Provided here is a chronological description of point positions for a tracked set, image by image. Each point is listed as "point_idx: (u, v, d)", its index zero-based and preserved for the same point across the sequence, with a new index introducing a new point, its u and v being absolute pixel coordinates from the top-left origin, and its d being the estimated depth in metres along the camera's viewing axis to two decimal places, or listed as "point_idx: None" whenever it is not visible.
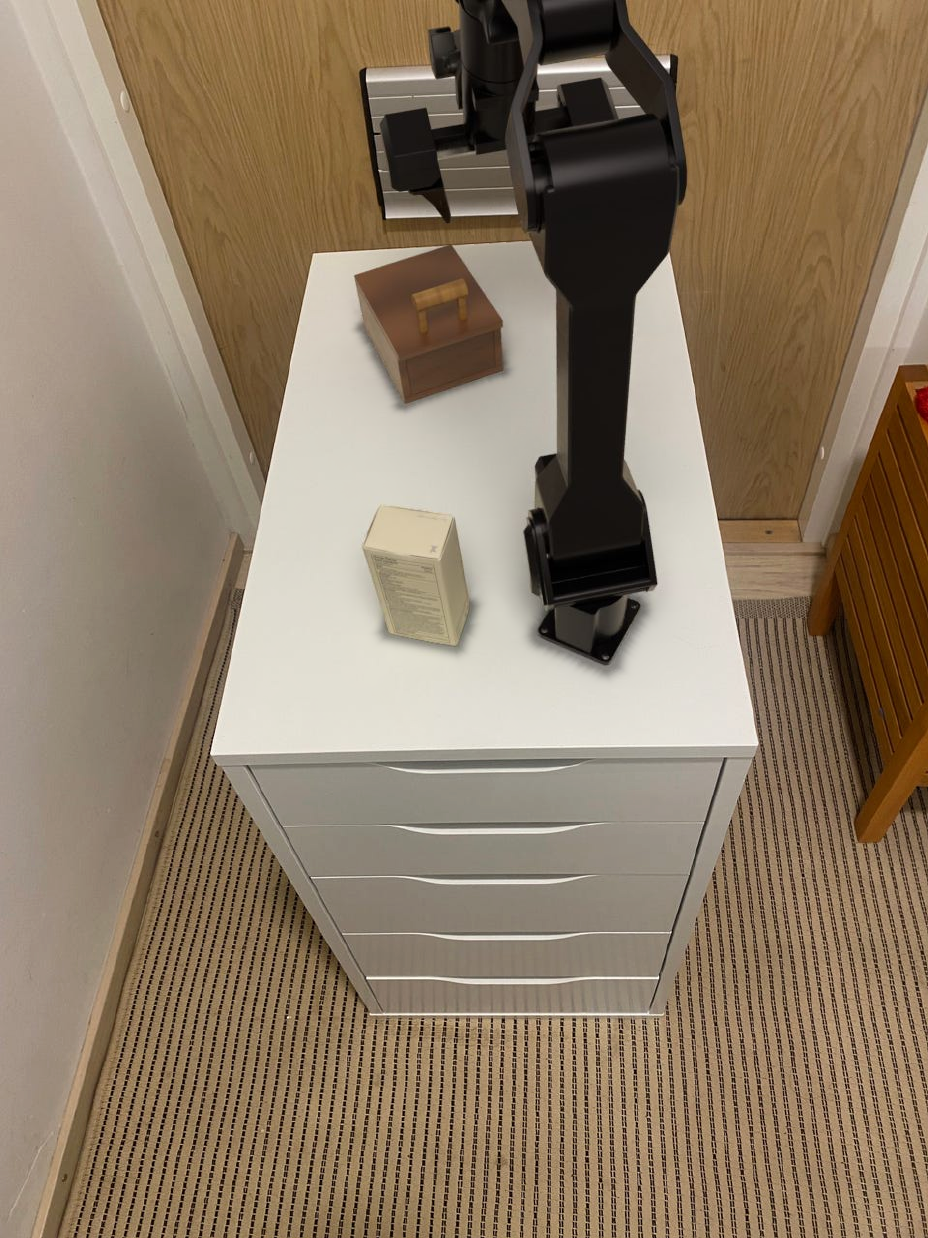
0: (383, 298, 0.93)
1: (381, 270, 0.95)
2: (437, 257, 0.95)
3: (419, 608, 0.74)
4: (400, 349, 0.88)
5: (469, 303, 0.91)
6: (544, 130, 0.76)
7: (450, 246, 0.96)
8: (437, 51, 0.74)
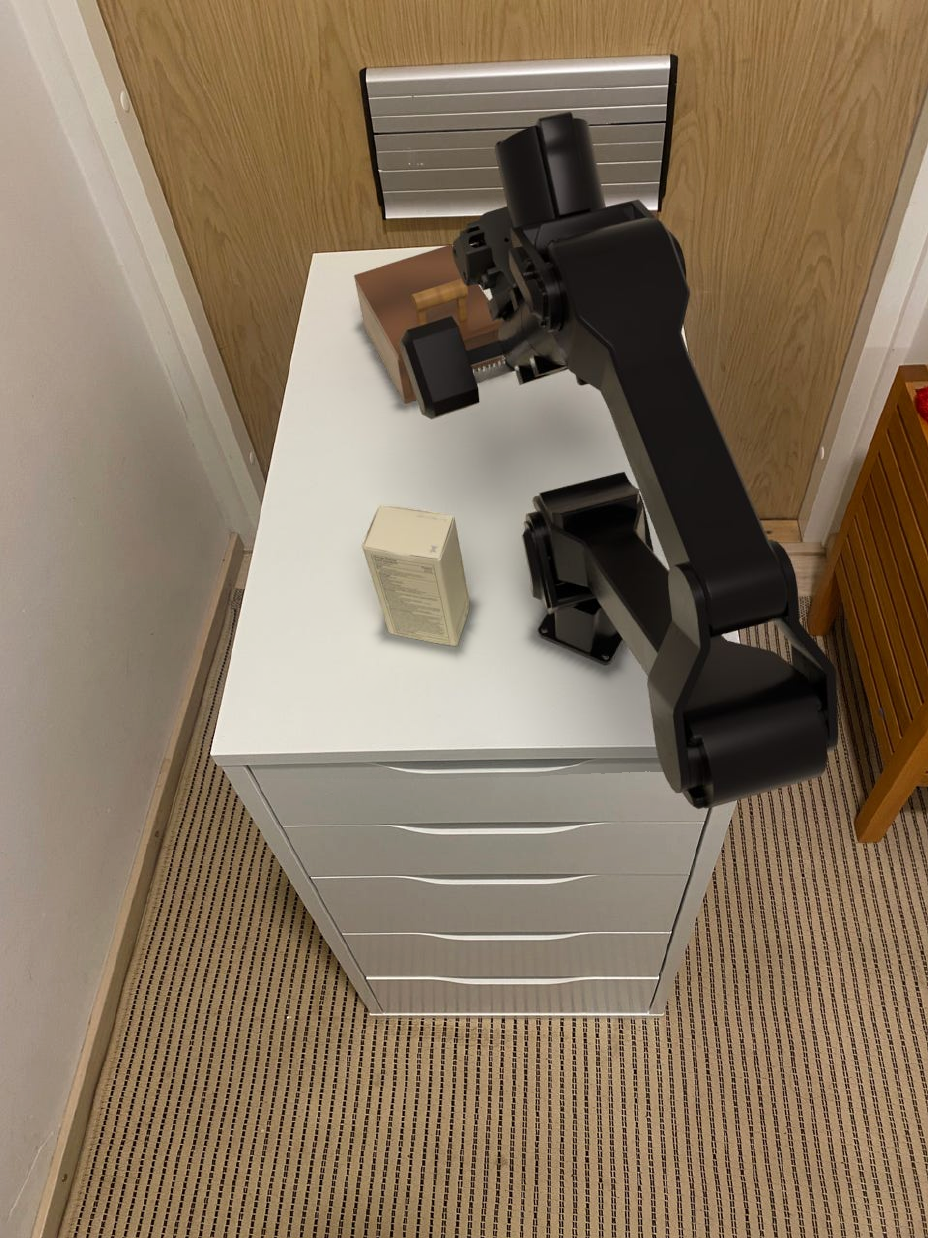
0: (383, 298, 0.93)
1: (381, 270, 0.95)
2: (437, 257, 0.95)
3: (419, 608, 0.74)
4: None
5: (469, 303, 0.91)
6: None
7: (450, 246, 0.96)
8: (472, 268, 0.62)
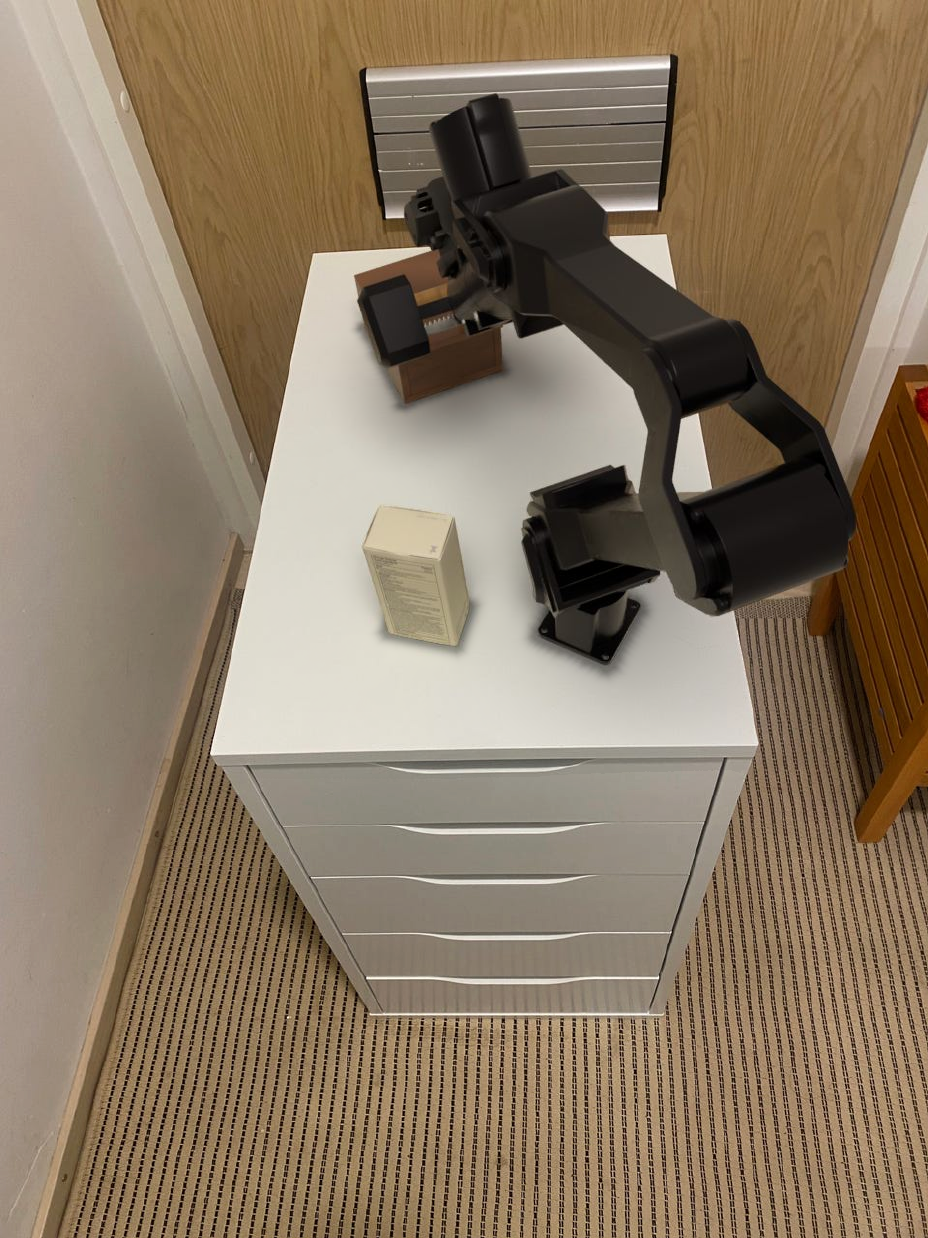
0: None
1: (381, 270, 0.95)
2: (437, 257, 0.95)
3: (419, 608, 0.74)
4: None
5: None
6: None
7: None
8: (421, 230, 0.69)
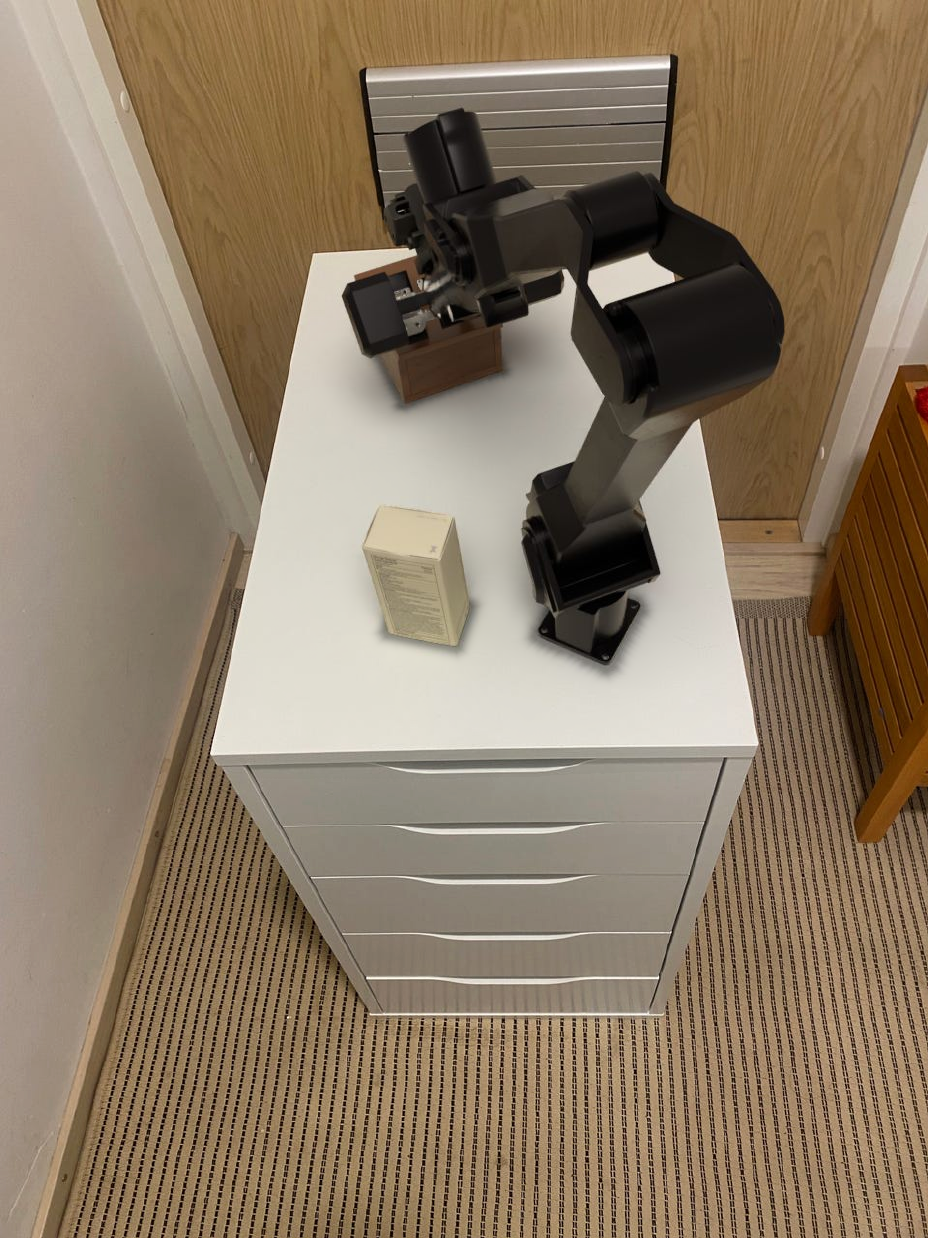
0: None
1: (381, 270, 0.95)
2: None
3: (419, 608, 0.74)
4: (400, 349, 0.88)
5: None
6: None
7: None
8: (399, 231, 0.76)
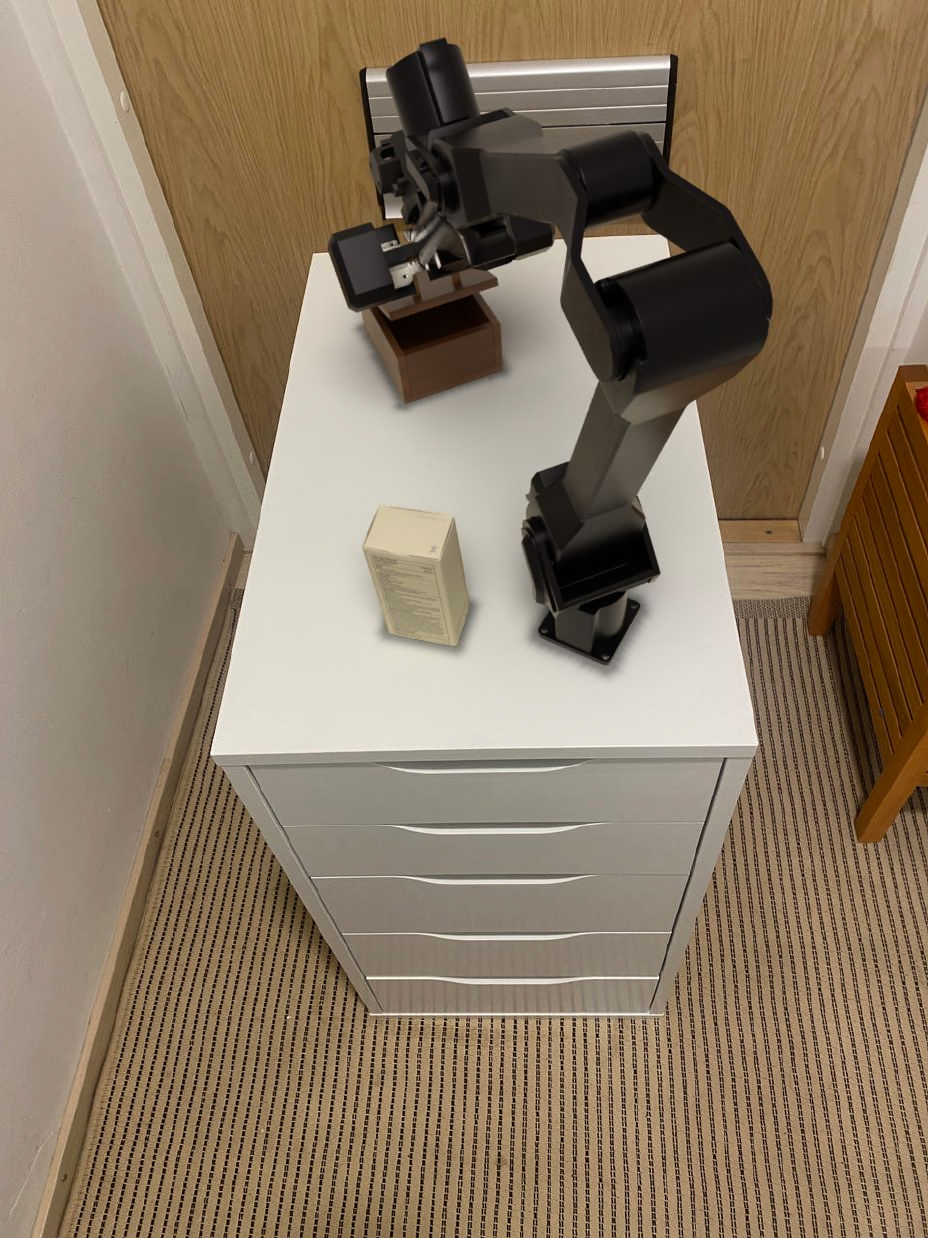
0: None
1: None
2: None
3: (419, 608, 0.74)
4: (391, 309, 0.85)
5: (464, 272, 0.89)
6: None
7: None
8: (384, 177, 0.74)
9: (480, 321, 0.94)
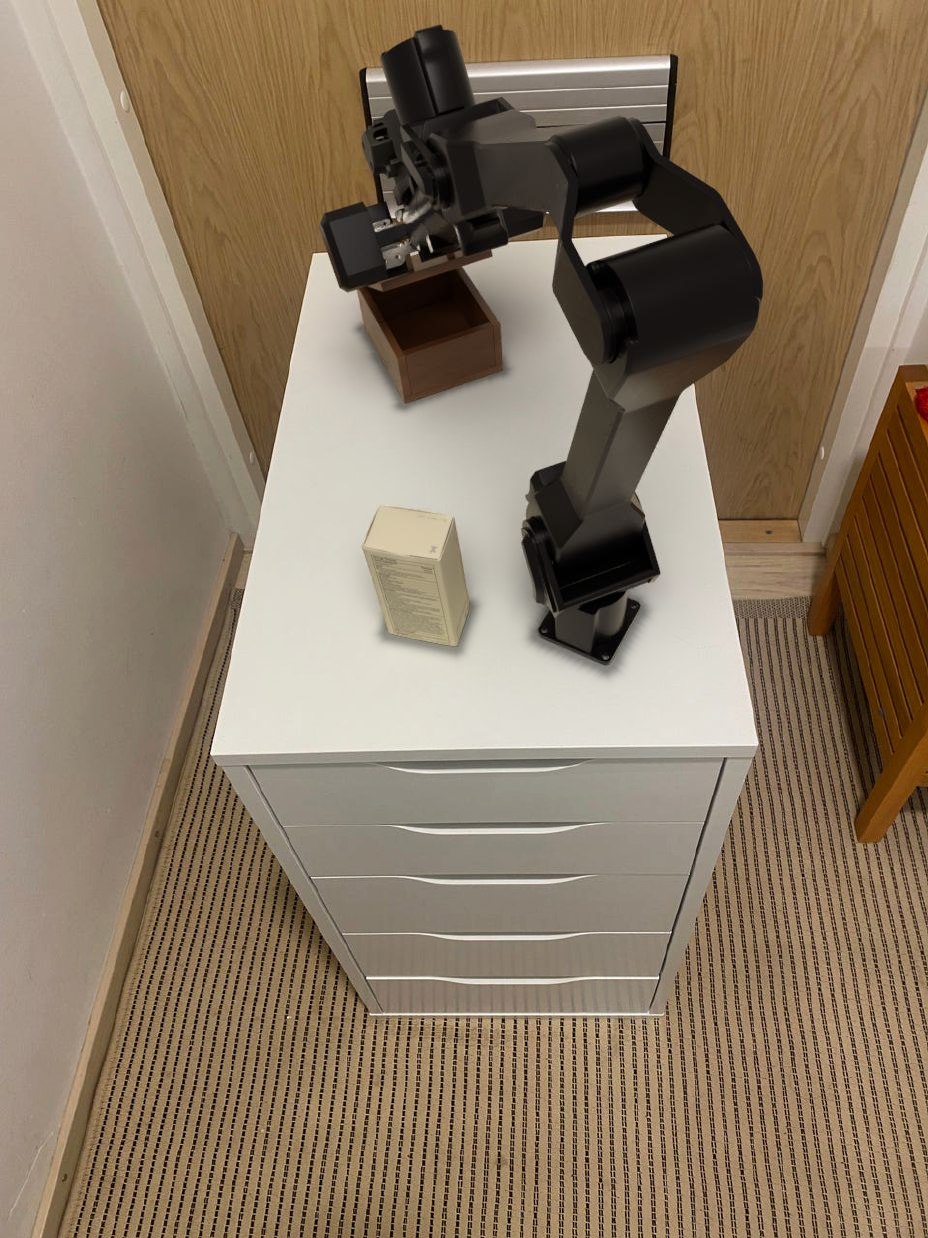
0: None
1: None
2: None
3: (419, 608, 0.74)
4: None
5: (459, 251, 0.88)
6: None
7: None
8: (377, 158, 0.74)
9: (480, 321, 0.94)
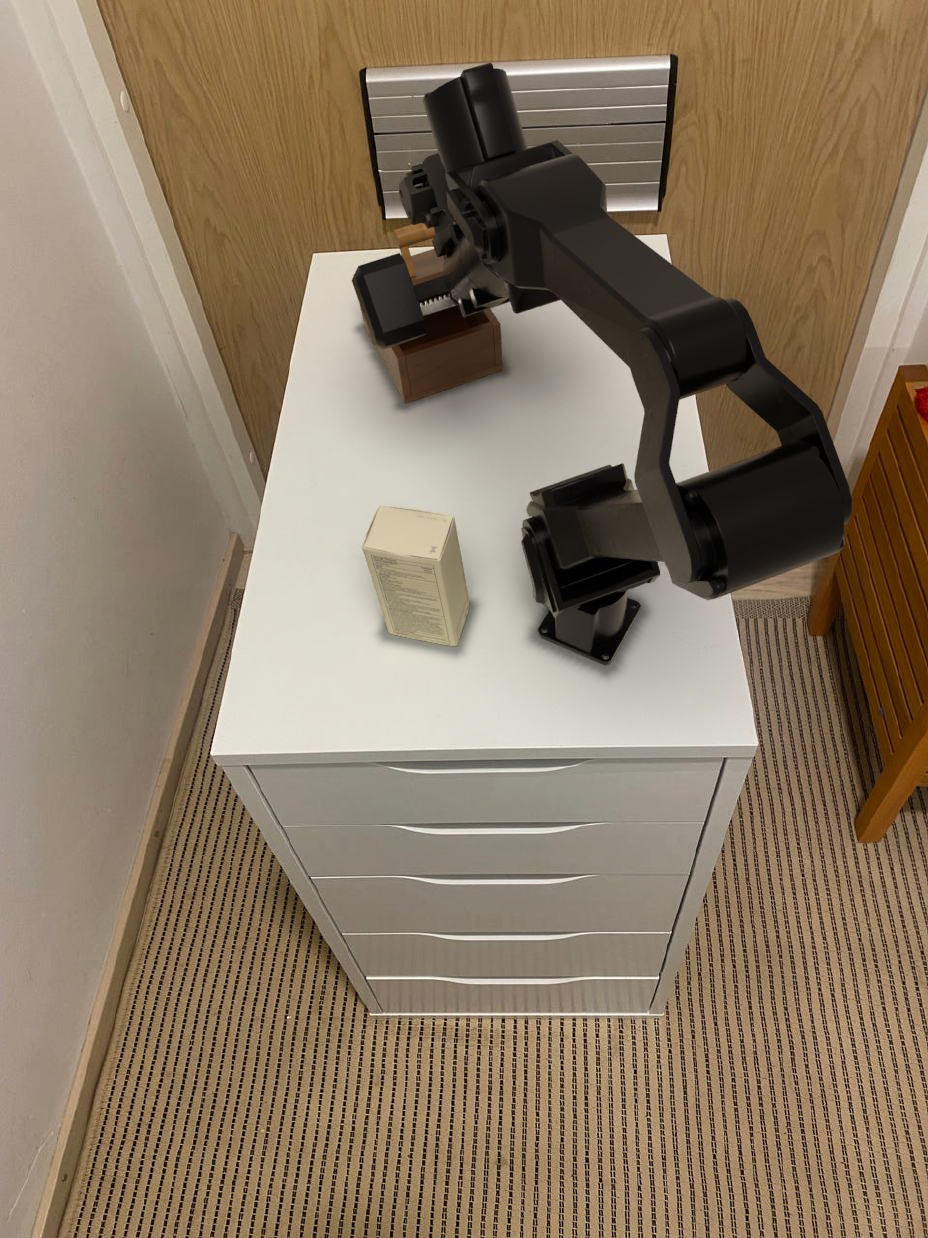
0: None
1: None
2: None
3: (419, 608, 0.74)
4: None
5: None
6: None
7: None
8: (416, 207, 0.68)
9: (480, 321, 0.94)
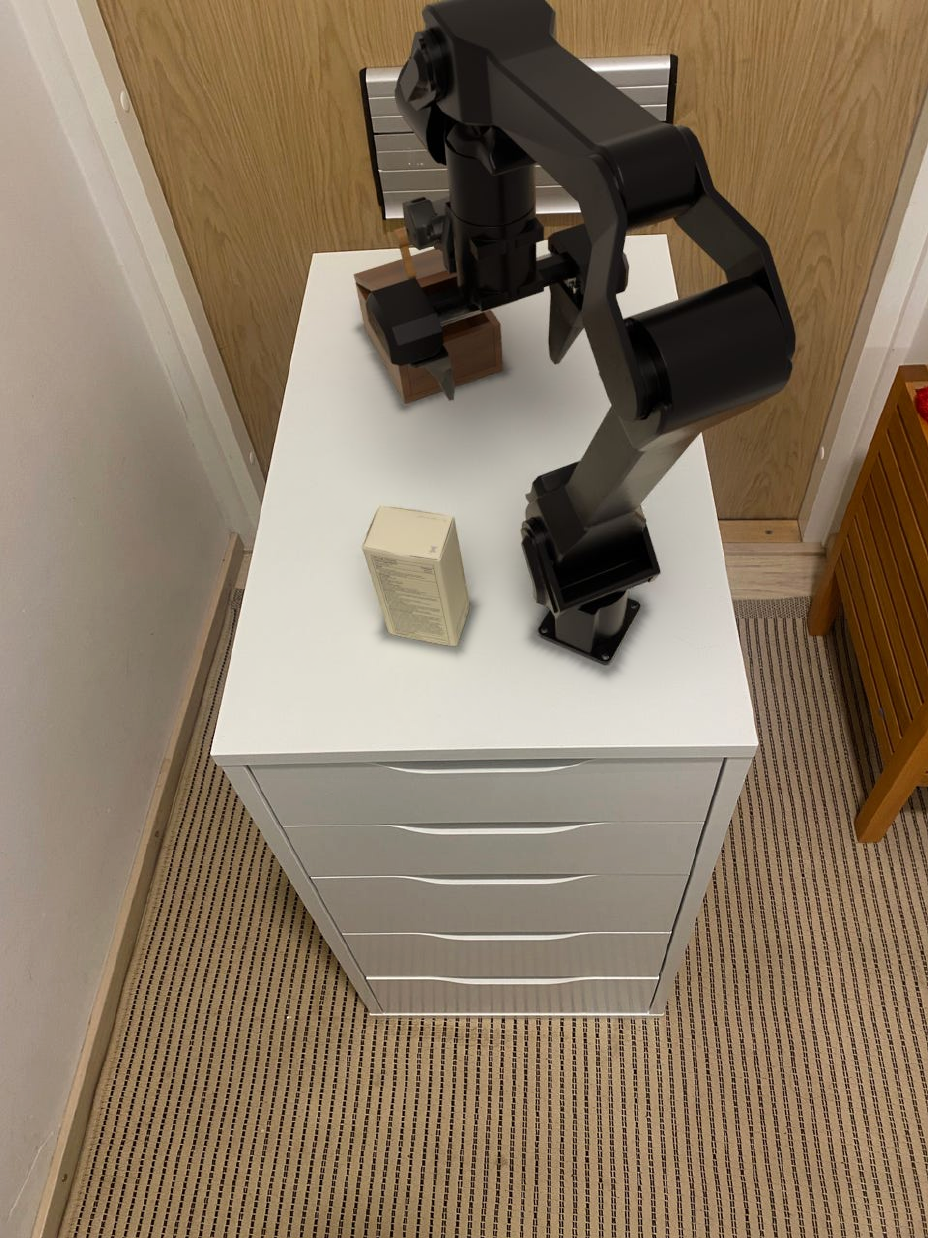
0: (377, 275, 0.91)
1: (380, 266, 0.95)
2: (435, 250, 0.95)
3: (418, 608, 0.74)
4: None
5: None
6: (546, 280, 0.69)
7: None
8: (417, 220, 0.68)
9: (480, 321, 0.94)
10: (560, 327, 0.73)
